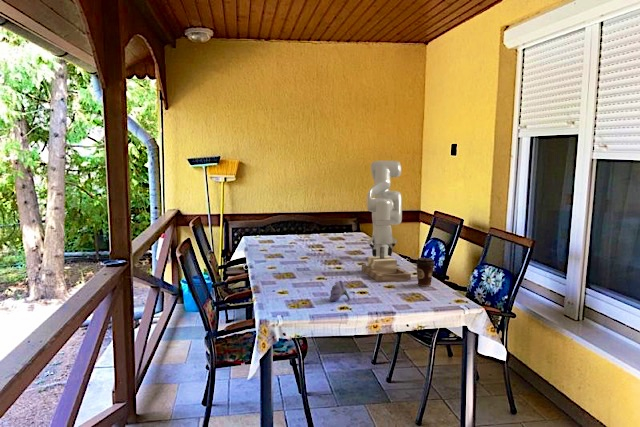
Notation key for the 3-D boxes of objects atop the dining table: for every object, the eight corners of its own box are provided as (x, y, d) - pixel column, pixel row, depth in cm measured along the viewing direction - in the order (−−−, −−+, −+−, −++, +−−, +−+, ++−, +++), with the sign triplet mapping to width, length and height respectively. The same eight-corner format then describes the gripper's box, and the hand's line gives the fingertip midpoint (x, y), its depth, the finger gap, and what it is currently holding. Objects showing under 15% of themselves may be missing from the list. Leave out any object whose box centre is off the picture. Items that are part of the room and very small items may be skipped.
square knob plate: (367, 269, 264) (367, 245, 263) (387, 268, 267) (388, 245, 266) (375, 274, 253) (375, 249, 251) (396, 273, 256) (397, 248, 254)
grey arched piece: (353, 283, 213) (334, 274, 210) (355, 295, 205) (335, 287, 203) (342, 297, 217) (323, 289, 214) (344, 310, 209) (324, 302, 206)
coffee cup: (419, 287, 231) (420, 261, 229) (412, 283, 239) (412, 257, 237) (436, 286, 233) (437, 260, 232) (428, 282, 241) (429, 256, 240)
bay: (361, 270, 266) (361, 264, 266) (390, 269, 270) (390, 263, 270) (378, 282, 241) (378, 275, 240) (410, 280, 245) (410, 274, 245)
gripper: (395, 222, 263) (394, 253, 265) (364, 222, 259) (364, 255, 261) (400, 223, 256) (400, 256, 258) (369, 224, 252) (368, 257, 253)
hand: (382, 255), depth 259 cm, fingers open, 8 cm apart
